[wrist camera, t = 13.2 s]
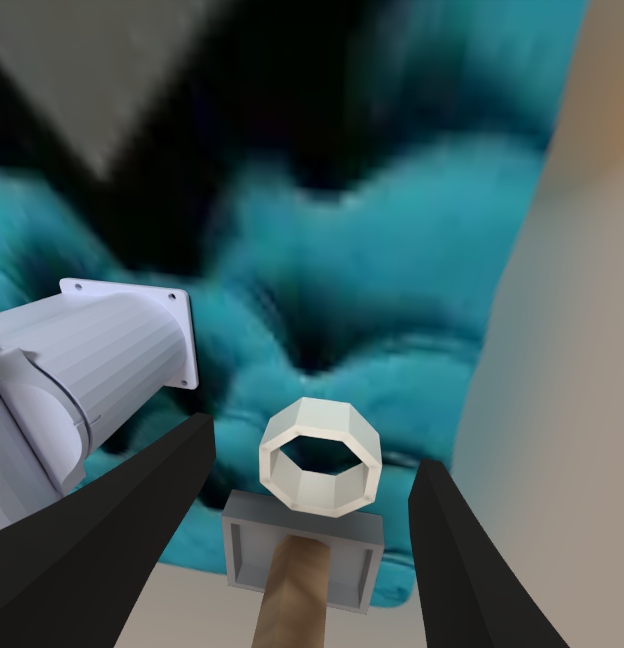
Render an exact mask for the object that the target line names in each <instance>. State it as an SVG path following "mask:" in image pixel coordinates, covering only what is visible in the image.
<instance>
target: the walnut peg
mask: <svg viewBox="0 0 624 648" xmlns="http://www.w3.org/2000/svg"><path fill="white" fill-rule="evenodd" d="M330 550H331V547H329V546H327V545H326V544H324V543H322V542H320V541H318V540H316V539H312V538H306V537H301V536H296V535H290V534H288V535H287V536H286V537H285V538H284V539H283V540H282V541H281V542H280V543H279V544H278V545H276V546H275V549H274V553H273V558H272V562H271V566H270V570H269V575H268V579H267V583H266V588H265V592H264V596H263V601H262V605H261V609H260V613H259V618H258V622H257V626H256V630H255V635H254V639H253V644H252V648H323V647H324V633H325V631H324V630H325V619H326V605H327V591H328V577H329V563H330Z"/></svg>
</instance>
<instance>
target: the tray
mask: <svg viewBox="0 0 624 648" xmlns="http://www.w3.org/2000/svg"><path fill="white" fill-rule="evenodd" d="M221 519H222V528H223V538H224V548H225V557H226V567H227V577H228V585H229V586H233V587H238V588H243V589H247V590H252V591H257V592H262V593H264V592H265V588H266V583H267V579H268V575H269V570H270V566H271V562H272V558H273V553H274V549H275V546H276V545H278V544H279V543H280V542H281V541H282V540H283V539H284V538H285V537H286V536H287V535H288V534H290V535H296V536H301V537H306V538H312V539H316V540H318V541H320V542H322V543H324V544H326V545H327V546H329V547H331V550H330V563H329V577H328V591H327V605H326V606H327V607H332V608H336V609H341V610H346V611H351V612H355V613H360V614H365V615H366V614H367V611H368V608H369V604H370V600H371V596H372V592H373V589H374V585H375V581H376V577H377V573H378V570H379V566H380V562H381V558H382V555H383V551H384V547H385V544H384V532H383V520H382V516H381V515H375V514H370V513H364V512H358V511H351V512H349V513H347V514H344V515H342V516H340V517H337V518H335V517H329V516H324V515H318V514H313V513H307V512H302V511H296V510H291V509H290V508H289V507H288V506H287V505H285V504H284V503H283V502H282V501H281V500H280V499H279V498H277V497H273V496H268V495H262V494H256V493H251V492H245V491H239V490H234V489H232V492H231V494H230V496H229V499H228V501H227V503H226V506H225V508H224V510H223V513H222V515H221Z"/></svg>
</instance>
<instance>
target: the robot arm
mask: <svg viewBox="0 0 624 648" xmlns="http://www.w3.org/2000/svg"><path fill="white" fill-rule="evenodd" d="M80 285H81V286H80ZM60 287H61V291H62V294H58V295H55V296H52V297H49V298H45V299H42V300H39V301H36V302H32V303H29V304H26V305H23V306H20V307H16V308H13V309H10V310H7V311H3V312H0V648H113V647H114V646H115V644H116V642H117V639H118V637H119V635H120V633H121V631H122V629H123V627H124V625H125V623H126V621H127V619H128V617H129V615H130V613H131V611H132V609H133V607H134V605H135V603H136V601H137V599H138V597H139V595H140V593H141V591H142V589H143V587H144V585H145V583H146V581H147V580H148V577H149V575H150V573H151V572H152V570H153V568H154V567H155V565H156V563H157V561H158V559H159V558H160V556H161V554H162V553H163V551H164V549H165V548H166V546H167V544H168V543H169V541H170V540H171V538H172V536H173V535H174V533H175V531H176V530H177V528H178V526H179V525H180V523H181V522H182V520H183V518H184V517H185V515H186V513H187V512H188V510H189V508H190V507H191V505H192V503H193V502H194V500H195V498H196V497H197V495H198V493H199V492H200V490H201V488H202V487H203V485H204V483H205V481H206V478H207V476H208V474H209V472H210V470H211V468H212V466H213V463H214V461H215V459H216V448H215V435H214V422H213V415H208V414H203V413H198V412H197V413H196V414H194V415H193V416H191V417H190V418H188V419H187V420H185V421H184V422H182V423H181V424H180V425H178V426H177V427H175V428H174V429H172V430H171V431H170V432H168V433H167V434H165V435H164V436H162V437H161V438H160V439H158V440H157V441H155V442H154V443H152V444H151V445H149V446H148V447H146V448H145V449H143V450H142V451H140V452H139V453H137V454H136V455H134V456H133V457H131V458H130V459H128V460H127V461H125V462H123V463H122V464H120V465H119V466H117V467H115V468H114V469H112V470H111V471H109V472H108V473H106V474H104V475H103V476H101V477H99V478H98V479H96V480H94V481H93V482H91V483H89V484H88V485H86V486H84V487H82V488H81V489H79V490H77V491H75V492H73V493H72V494H70V495H68V494H69V493H70V492H71V491H72V490H73V489H74V488H75V487H76V486H77V484H78V483H79V482H80V481H81V480H82V479H83V478H84V477H85V476H86V473H85V470H84V466H83V463H84V460H86V459H87V458H88V457H89V456H90V455H91V454H92V453H93V452H94V451H95V450H96V449H97V448H98V447H99V446H100V445H101V444H102V443H103V442H104V441H105V440H107V439H108V438H109V437H110V436H111V435H112V434H113V433H114V432H115V431H116V430H117V429H118V428H119V427H120V426H121V425H122V424H123V423H124V422H125V421H127V420H128V419H129V418H130V417H131V416H132V415H133V414H134V413H135V412H136V411H137V410H138V409H139V408H140V407H141V406H142V405H143V404H144V403H145V402H146V401H148V400H149V399H150V398H151V397H152V396H153V395H154V394H155V393H156V392H157V391H158V390H159V389H160V388H161V387H162V386H163V385H165V386H172V387H179V388H186V389H195V388H196V387H197V386H198V385H199V380H198V372H197V363H196V355H195V346H194V338H193V329H192V321H191V312H190V304H189V296H188V294H187V293H186V292H185V291H184V290H181V289H172V288H162V287H153V286H143V285H133V284H123V283H114V282H104V281H94V280H84V279H75V278H64V279H62V280H60ZM81 287H82V288H81ZM172 294H174V295H175V297H176V299H174V298H173V297H172ZM184 381H186V382H187V383H185V382H184ZM67 495H68V496H67ZM408 510H409V528H410V539H411V546H412V552H413V558H414V565H415V571H416V577H417V583H418V589H419V595H420V602H421V608H422V614H423V620H424V627H425V634H426V641H427V648H570V647H569V646H568V645H567V643H566V642H565V641H564V640H563V639H562V637H561V636H560V635H559V633H558V632H557V631H556V630H555V628H554V627H553V626H552V624H551V623H550V622H549V621H548V619H547V618H546V617H545V616H544V614H543V613H542V611H541V610H540V609H539V608H538V606H537V605H536V604H535V602H534V601H533V599H532V598H531V597H530V595H529V594H528V593H527V591H526V590H525V589H524V587H523V586H522V585H521V583H520V582H519V580H518V579H517V577H516V576H515V575H514V573H513V572H512V570H511V569H510V568H509V566H508V565H507V563H506V562H505V561H504V559H503V558H502V556H501V555H500V553H499V552H498V550H497V549H496V547H495V546H494V544H493V543H492V541H491V540H490V538H489V537H488V535H487V534H486V532H485V531H484V530H483V528H482V526H481V525H480V523H479V522H478V520H477V518H476V517H475V515H474V514H473V512H472V511H471V509H470V507H469V506H468V504H467V502H466V501H465V499H464V498H463V496H462V494H461V493H460V491H459V489H458V488H457V486H456V484H455V483H454V481H453V479H452V478H451V476H450V474H449V473H448V471H447V469H446V468H445V466H444V464H443V463H442V462H440V461H435V460H430V459H425V458H422V459H421V462H420V465H419V468H418V471H417V474H416V477H415V480H414V483H413V486H412V489H411V492H410V495H409V498H408Z"/></svg>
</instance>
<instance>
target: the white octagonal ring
mask: <svg viewBox="0 0 624 648" xmlns="http://www.w3.org/2000/svg"><path fill="white" fill-rule="evenodd" d="M298 435H305V436H312V437H318V438H325V439H331V440H338V441H343V442H344V443H345V444H346V445H347V446H348V447H349V448H350V449H351V450H352V451H353V452H354V453H355V454H356V455H357V456H358V457H359V458H360V459H361V460H362V461H363V463H361V464H359V465H357V466H355V467H353V468H351V469H349V470H347V471H345V472H343V473H341V474H339V475H337V476H333V475H327V474H321V473H315V472H308V471H302V470H301V469H300V468H299V467H298V466H297V465H296V464H295V463H294V462H293V461H292V460H291V459H290V458H288V457H287V456H286V455H285V454H284V453H283V452H282V451H281V450H280V446H282V445H283V444H285V443H287V442H288V441H290V440H292V439H293V438H295V437H297V436H298ZM259 463H260V483H262V484H263V485H264V486H265V487H266V488H267V489H268V490H270V491H271V492H272V493H273V494H274V495H275V496H276V497H277V498H279V499H280V500H281V501H282V502H283V503H284V504H285V505H287V506H288V507H289V508H290V509H291V510H296V511H302V512H307V513H313V514H318V515H324V516H329V517H335V518H337V517H340V516H342V515H344V514H347V513H349V512H351V511H354V510H356V509H358V508H361V507H363V506H365V505H368V504H370V503H372V502H374V501H375V496H376V491H377V487H378V482H379V478H380V473H381V468H382V461H381V451H380V441H379V434H378V433H377V432H376V431H375V430H374V429H373V428H372V426H371V425H370V424H369V423H368V422H367V421H366V420H365V419H364V418H363V417H362V416H361V415H360V414H359V413H358V412H357V411H356V410H355V408H354V407H353V406H352V405H351V404H350V403H343V402H336V401H329V400H322V399H314V398H307V397H302V398H300V399H299V400H297V401H296V402H294V403H293V404H291V405H290V406H288V407H287V408H285V409H284V410H282V411H281V412H279V413H278V414H276V415H275V416H273V417H272V418H270V421H269V423H268V426H267V428H266V431H265V433H264V436H263V438H262V441H261V443H260V446H259Z"/></svg>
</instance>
